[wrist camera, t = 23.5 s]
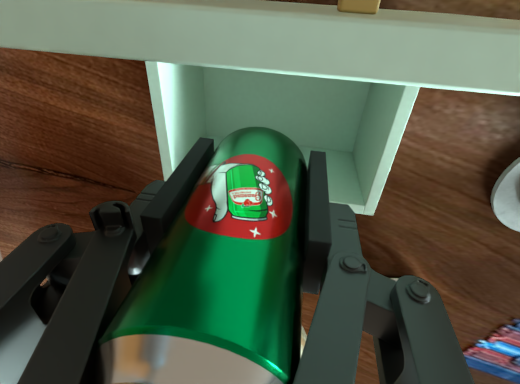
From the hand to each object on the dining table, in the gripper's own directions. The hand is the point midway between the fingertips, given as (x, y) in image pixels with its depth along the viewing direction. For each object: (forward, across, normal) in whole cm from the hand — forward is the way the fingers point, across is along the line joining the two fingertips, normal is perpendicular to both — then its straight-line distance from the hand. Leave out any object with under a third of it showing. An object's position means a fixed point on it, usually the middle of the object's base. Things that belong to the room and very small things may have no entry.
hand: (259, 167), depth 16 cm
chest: (+17, 0, 0) cm, 17 cm away
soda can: (0, 0, 0) cm, 0 cm away
